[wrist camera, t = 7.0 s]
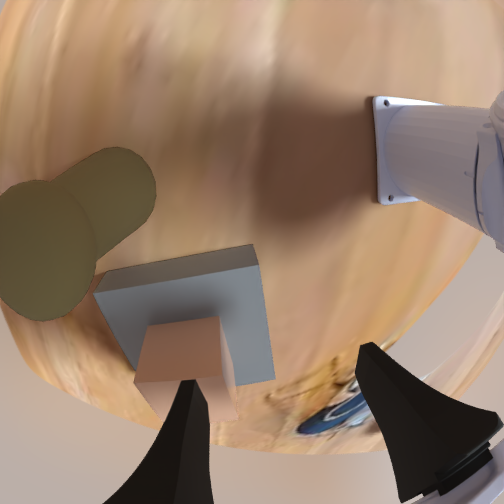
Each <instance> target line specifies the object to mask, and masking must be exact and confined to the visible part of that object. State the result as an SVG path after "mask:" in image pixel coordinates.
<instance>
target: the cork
mask: <svg viewBox="0 0 504 504" xmlns="http://www.w3.org/2000/svg"><path fill="white" fill-rule="evenodd" d="M155 199H156V184H155V180H154V177H153V174H152V172H151V169H150V167H149V166H148V165H147V164H146V162H145V161H144V160H143V158H142V157H140V156H139V155H137V154H136V153H134V152H133V151H131V150H129V149H125V148H120V147H112V148H105V149H102V150H101V151H99V152H97V153H95V154H93V155H91V156H90V157H88V158H86V159H85V160H83V161H81V162H80V163H78V164H76V165H75V166H73V167H72V168H70V169H69V170H67V171H66V172H64V173H63V174H61V175H60V176H58V177H57V178H55V179H54V180H52V181H51V182H47V181H41V180H33V181H28V182H23V183H19V184H17V185H14V186H12V187H10V188H9V189H8V190H6V191H5V192H4V193H3V194H2V195H1V196H0V297H1V299H2V300H3V301H4V302H5V303H6V304H7V305H8V306H9V307H10V308H12V309H13V310H14V311H15V312H17V313H18V314H20V315H22V316H24V317H26V318H28V319H30V320H36V321H48V320H53V319H56V318H59V317H63V316H65V315H66V314H67V313H69V312H70V311H71V310H72V309H73V308H74V307H75V306H76V305H77V304H78V303H80V302H81V301H82V299H83V298H84V296H85V294H86V293H87V291H88V288H89V286H90V284H91V281H92V279H93V277H94V273H95V268H96V261H97V260H98V259H100V258H101V257H102V256H103V255H105V254H106V253H107V252H108V251H110V250H111V249H112V248H113V247H115V246H116V245H117V244H118V243H120V242H121V241H122V240H124V239H125V238H126V237H127V236H129V235H130V234H131V233H133V232H134V231H135V230H137V229H138V228H139V227H140V226H141V225H142V224H144V223H145V222H146V221H147V219H148V217H149V216H150V214H151V212H152V211H153V208H154V203H155Z"/></svg>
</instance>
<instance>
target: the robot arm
mask: <svg viewBox="0 0 504 504" xmlns="http://www.w3.org/2000/svg"><path fill="white" fill-rule="evenodd" d="M384 100H385V101H386V103H387V104H386V106H385V105H384ZM372 103H373V112H374V122H375V133H376V148H377V173H378V201H379V203H380V204H382V205H390V204H398V203H405V202H413V201H424V202H426V203H428V204H430V205H432V206H434V207H436V208H438V209H440V210H442V211H444V212H446V213H448V214H450V215H452V216H454V217H456V218H458V219H459V220H461V221H463V222H465V223H467V224H469V225H470V226H472V227H474V228H476V229H477V230H479V231H481V232H483V233H484V234H486V235H488V236H490V237H491V238H493V239H494V240H495V243H496V248H497V249H499V250H500V251H502V252H503V253H504V90H503V91H502V92H501V93H499V95H498V96H497V98H496V100H495V101H494V102H493V104H492V105H491V107H490V109H486V108H477V107H465V106H449V105H443V104H438V103H433V102H427V101H420V100H413V99H406V98H397V97H387V96H375V97H374V98H373V102H372ZM390 195H391V198H390V200H388V197H389V196H390ZM355 375H356V378H357V381H358V384H359V387H360V389H361V392H362V394H363V396H364V398H365V400H366V402H367V404H368V406H369V408H370V410H371V412H372V414H373V416H374V417H375V419H376V421H377V423H378V425H379V427H380V430H381V432H382V434H383V437H384V440H385V443H386V446H387V449H388V452H389V455H390V459H391V462H392V466H393V470H394V474H395V479H396V484H397V489H398V496H399V499H400V502H401V503H404V502H406V501H408V500H410V499H412V498H414V497H416V496H418V495H419V494H421V493H422V494H423V496H424V497H423V498H421V499H419V500H417V501H416V502H414V503H412V504H491V503H492V502H493V501H494V500H495V499H496V498H497V497H498V496H499V495H500V493H501V492H502V491H503V490H504V439H503V440H501V441H500V442H499V443H498V444H497V445H496V446H495V447H494V448H493V449H491V450H490V451H489V449H488V447H490V443H489V442H488V441H489V440H490V439H491V438H492V437H493V436H494V435H495V434H496V433H497V432H498V431H499V430H500V429H501V428H502V427H503V425H504V424H503V422H502V421H501V419H500V418H499V416H498V415H497V413H496V412H492V411H488V410H484V409H479V408H476V407H473V406H470V405H467V404H464V403H462V402H460V401H457V400H455V399H453V398H450V397H448V396H446V395H444V394H442V393H440V392H439V391H437V390H435V389H433V388H432V387H430V386H428V385H427V384H425V383H424V382H422V381H421V380H419V379H418V378H417V377H415V376H414V375H412V374H411V373H410V372H408V371H407V370H406V369H405V368H403V367H402V366H401V365H399V364H398V363H397V362H395V360H393V359H392V358H391V357H390V356H388V355H387V354H386V353H385V352H384V351H383V350H382V349H380V348H379V347H378V346H377V345H376V344H375V343H373V342H369V343H366V344H363V345H360V349H359V354H358V359H357V364H356V369H355ZM209 442H210V420H209V410H208V403H207V401H206V399H205V397H204V395H203V393H202V391H201V389H200V387H199V385H198V383H197V381H196V379H191V380H182V381H181V382H180V384H179V387H178V390H177V393H176V395H175V398H174V401H173V403H172V405H171V408H170V410H169V412H168V415H167V417H166V419H165V421H164V424H163V426H162V428H161V430H160V431H159V434H158V436H157V437H156V440H155V441H154V443H153V445H152V446H151V448H150V450H149V451H148V453H147V454H146V456H145V457H144V459H143V460H142V462H141V463H140V464H139V466H138V467H137V469H136V470H135V471H134V473H133V474H132V475H131V476H130V477H129V478H128V480H127V481H126V482H125V483H124V484H123V485H122V486H121V487H120V488H119V489H118V490H117V491H116V492H115V493H114V494H113V495H112V496H111V497H110V498H109V499H108V500H107V501H105V502H104V503H103V504H214V501H213V495H212V489H211V481H210V472H209Z"/></svg>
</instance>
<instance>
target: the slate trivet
mask: <svg viewBox="0 0 504 504" xmlns="http://www.w3.org/2000/svg"><path fill="white" fill-rule="evenodd" d="M93 295H94V297H95V299H96V301H97V304H98V306H99V308H100V310H101V312H102V314H103V316H104V318H105V320H106V321H107V323H108V325H109V327H110V329H111V331H112V333H113V334H114V336H115V338H116V340H117V342H118V343H119V345H120V347H121V349H122V350H123V352H124V354H125V355H126V357H127V359H128V360H129V362H130V364H131V365H132V367H133V368H134V370H135V371H136V369H137V365H138V361H139V357H140V353H141V349H142V345H143V341H144V337H145V334H146V330H147V326H150V325H158V324H166V323H173V322H180V321H187V320H194V319H201V318H207V317H214V316H220V320H221V324H222V327H223V331H224V335H225V338H226V342H227V345H228V349H229V352H230V356H231V359H232V362H233V367H234V377H235V386H241V385H247V384H253V383H258V382H264V381H269V380H274V379H276V378H275V371H274V364H273V357H272V350H271V343H270V336H269V329H268V322H267V315H266V308H265V301H264V294H263V288H262V281H261V274H260V267H259V263H258V259H257V256H256V253H255V250H254V247H253V244H251V245H246V246H240V247H235V248H229V249H224V250H218V251H213V252H208V253H202V254H197V255H191V256H186V257H181V258H175V259H170V260H164V261H159V262H154V263H149V264H143V265H138V266H133V267H128V268H122V269H117V270H112V271H107V272H106V274H105V275H104V277H103V278H102V280H101V281H100V283H99V284H98V286H97V287H96V289H95V291H94V292H93Z"/></svg>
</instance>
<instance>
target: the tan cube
mask: <svg viewBox="0 0 504 504" xmlns="http://www.w3.org/2000/svg"><path fill="white" fill-rule="evenodd" d="M191 379H196V381H197V383H198V385H199V387H200V389H201V391H202V393H203V395H204V397H205V399H206V401H207V403H208V410H209V420H210V423H215V422H225V421H233V420H239V413H238V404H237V395H236V386H235V377H234V367H233V362H232V359H231V356H230V352H229V349H228V345H227V342H226V338H225V335H224V331H223V327H222V324H221V320H220V316H214V317H207V318H201V319H194V320H187V321H180V322H173V323H166V324H158V325H150V326H147V330H146V334H145V337H144V341H143V345H142V349H141V353H140V357H139V361H138V365H137V369H136V374H135V378H134V384H135V386H136V387H137V389H138V390H139V391H140V393H141V394H142V396H143V397H144V398H145V400H146V401H147V402H148V404H149V405H150V406H151V408H152V409H153V410H154V412H155V413H156V414H157V415H158V417H159V418H160V419H161V420H162V422H163V423H164V421H165V419H166V417H167V415H168V412H169V410H170V408H171V405H172V403H173V401H174V398H175V395H176V393H177V390H178V387H179V384H180V382H181V381H182V380H191Z"/></svg>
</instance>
